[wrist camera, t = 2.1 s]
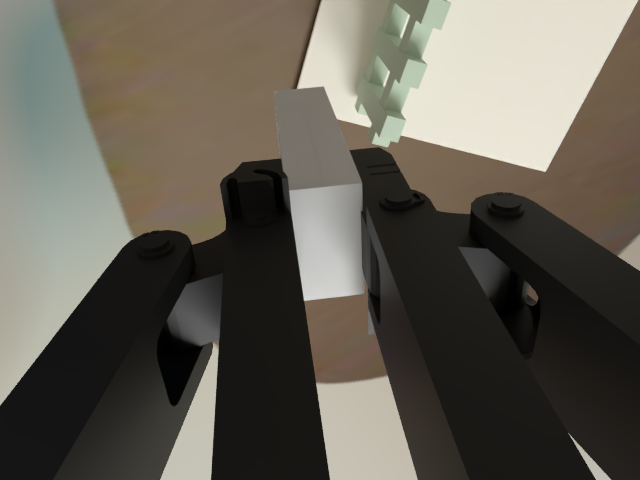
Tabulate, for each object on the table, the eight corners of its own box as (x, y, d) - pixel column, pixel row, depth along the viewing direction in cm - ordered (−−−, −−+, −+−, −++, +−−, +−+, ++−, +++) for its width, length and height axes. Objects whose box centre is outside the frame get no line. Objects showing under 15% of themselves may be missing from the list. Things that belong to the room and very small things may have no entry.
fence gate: (420, -97, 29) (463, -93, 23) (437, -91, 29) (485, -85, 23) (353, 105, 34) (374, 150, 28) (368, 109, 35) (393, 155, 29)
